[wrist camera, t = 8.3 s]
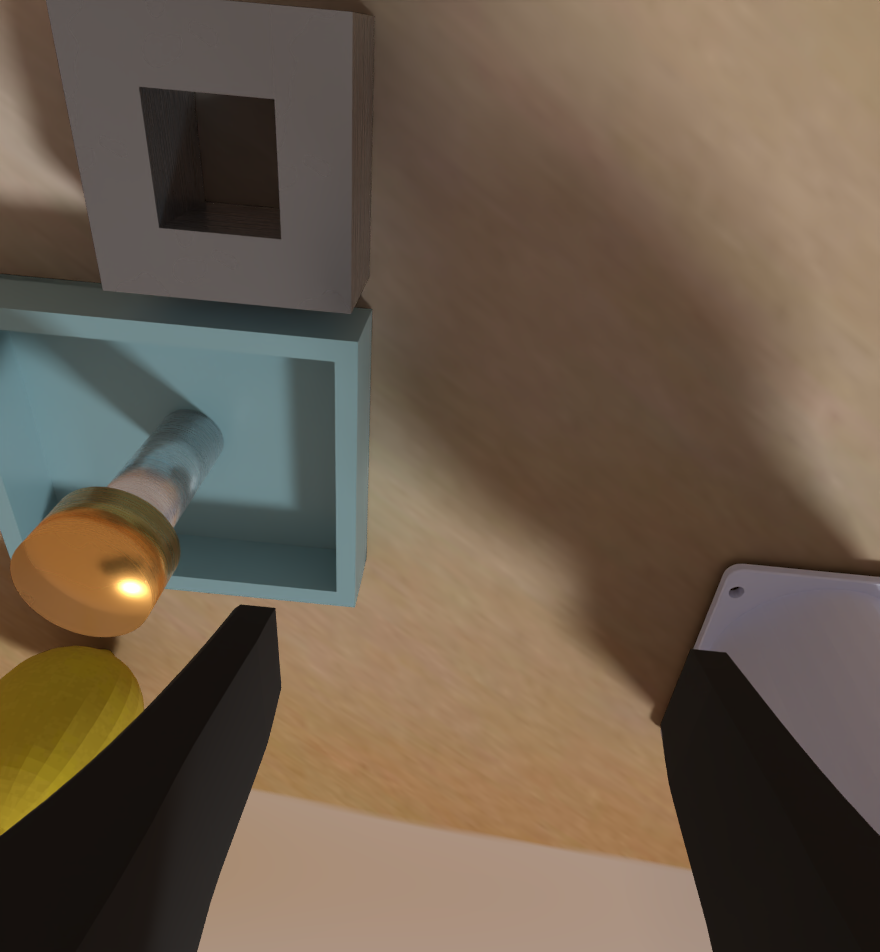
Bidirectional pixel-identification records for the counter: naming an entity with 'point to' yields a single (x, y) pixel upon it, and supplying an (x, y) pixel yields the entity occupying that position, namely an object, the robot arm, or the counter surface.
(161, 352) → the tray
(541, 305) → the counter surface
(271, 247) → the dark disc and block
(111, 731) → the lemon
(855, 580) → the robot arm
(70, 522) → the lock pin
